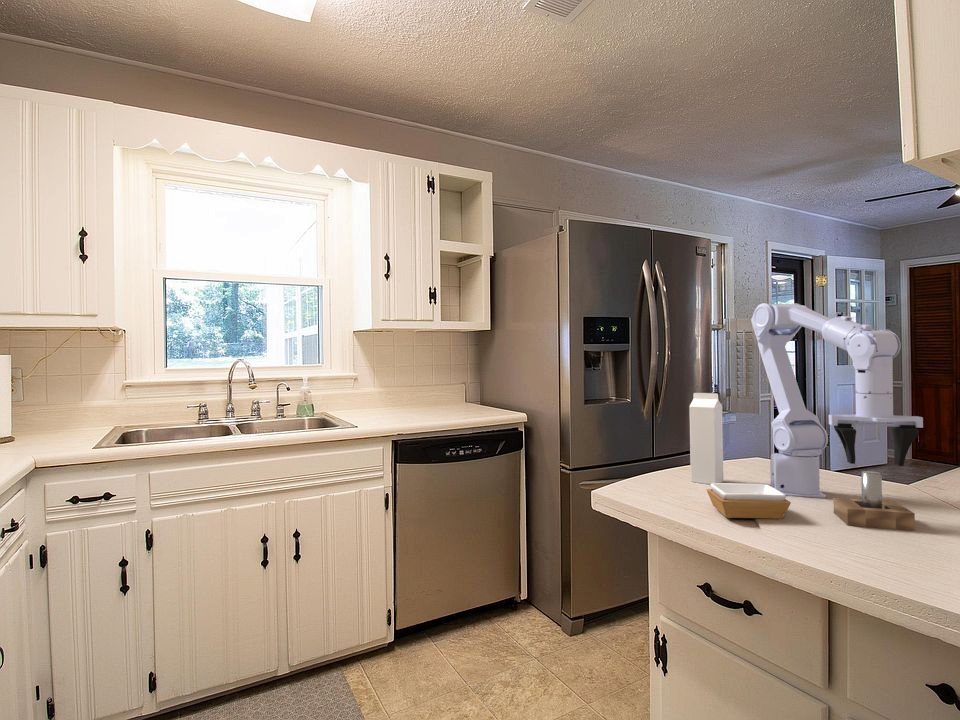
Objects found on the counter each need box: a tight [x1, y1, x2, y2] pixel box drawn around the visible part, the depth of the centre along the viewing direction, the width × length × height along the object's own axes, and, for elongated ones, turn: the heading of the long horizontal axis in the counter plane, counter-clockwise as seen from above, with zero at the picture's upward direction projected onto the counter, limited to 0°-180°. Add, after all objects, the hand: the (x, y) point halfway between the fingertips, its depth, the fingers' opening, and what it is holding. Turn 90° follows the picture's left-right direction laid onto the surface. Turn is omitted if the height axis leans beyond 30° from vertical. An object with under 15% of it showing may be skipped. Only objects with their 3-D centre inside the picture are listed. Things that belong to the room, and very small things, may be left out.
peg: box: [860, 470, 883, 509], centre depth 96 cm, size 3×3×9 cm
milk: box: [689, 392, 724, 485], centre depth 129 cm, size 6×6×22 cm
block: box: [833, 497, 916, 531], centre depth 96 cm, size 10×8×3 cm
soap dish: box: [706, 482, 792, 520], centre depth 103 cm, size 12×10×5 cm
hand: (874, 463), depth 100 cm, fingers open, 7 cm apart
